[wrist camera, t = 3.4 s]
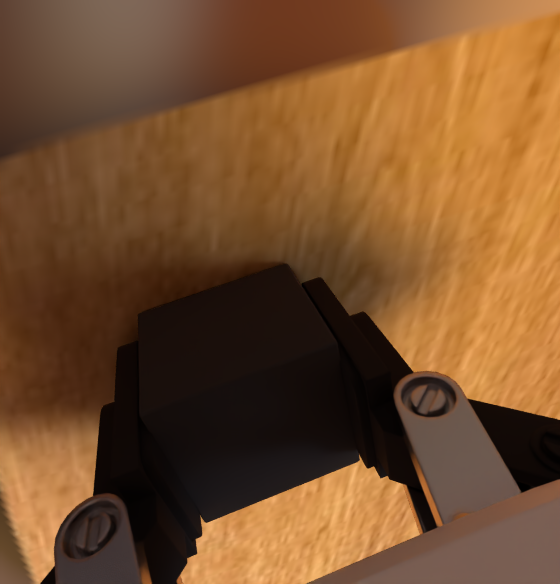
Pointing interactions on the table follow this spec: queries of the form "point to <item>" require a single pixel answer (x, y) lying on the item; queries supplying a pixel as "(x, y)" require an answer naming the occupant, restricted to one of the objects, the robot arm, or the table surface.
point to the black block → (244, 391)
